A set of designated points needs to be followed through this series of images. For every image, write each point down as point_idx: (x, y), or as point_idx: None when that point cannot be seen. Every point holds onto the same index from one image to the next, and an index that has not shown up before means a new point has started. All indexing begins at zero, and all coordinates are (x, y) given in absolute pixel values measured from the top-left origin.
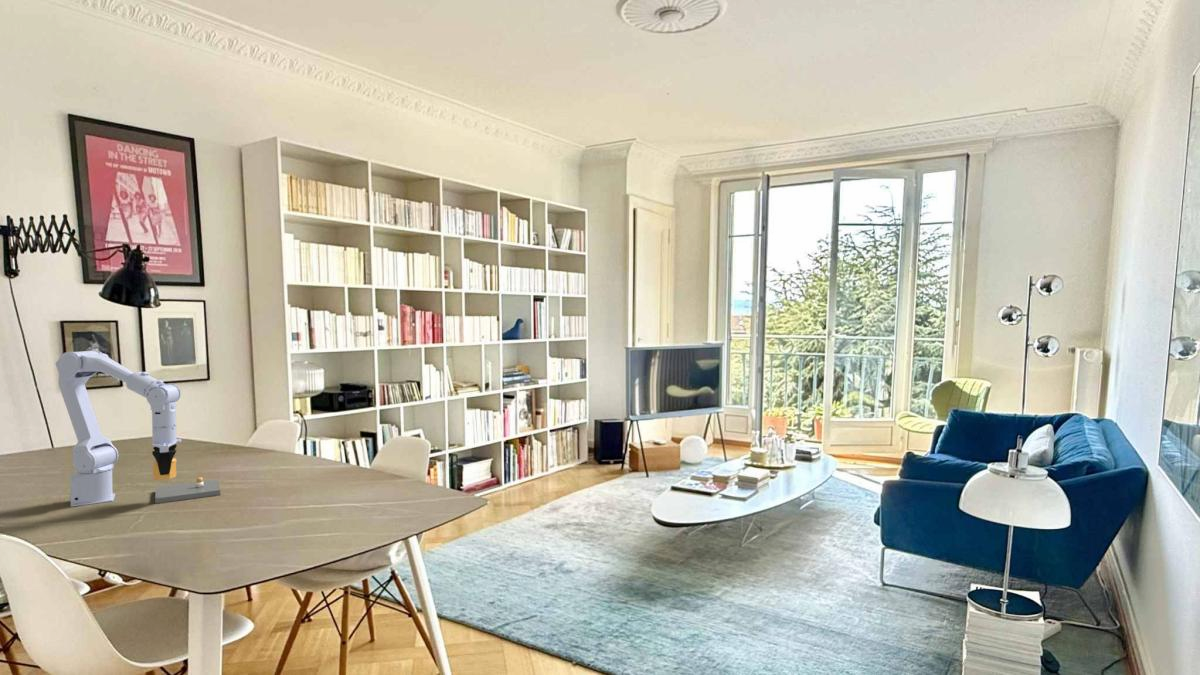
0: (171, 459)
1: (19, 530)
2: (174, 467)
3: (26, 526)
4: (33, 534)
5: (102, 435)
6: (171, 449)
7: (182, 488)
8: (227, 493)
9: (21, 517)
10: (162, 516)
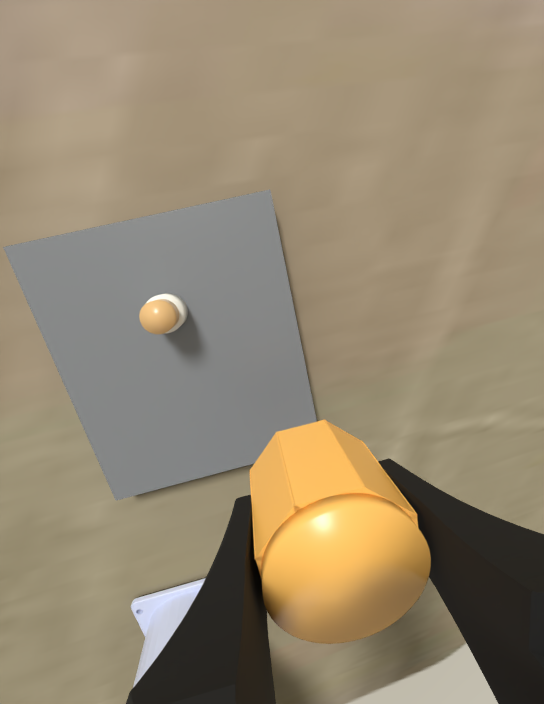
0: (503, 525)
1: (433, 653)
2: (359, 463)
3: (406, 655)
4: None
5: None
6: (248, 674)
7: (178, 384)
8: (234, 166)
9: (315, 700)
10: (483, 365)
